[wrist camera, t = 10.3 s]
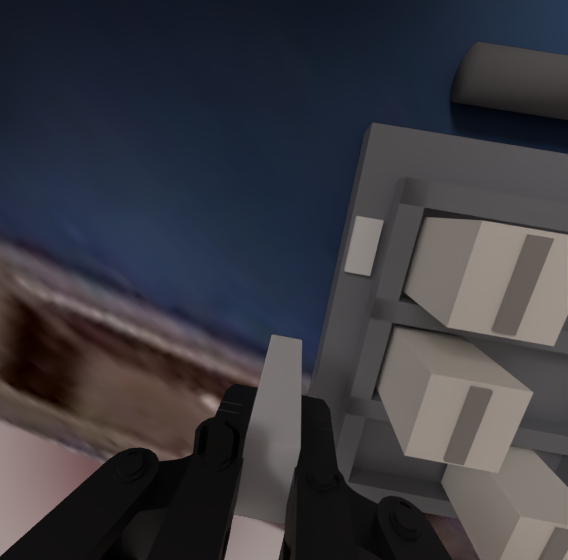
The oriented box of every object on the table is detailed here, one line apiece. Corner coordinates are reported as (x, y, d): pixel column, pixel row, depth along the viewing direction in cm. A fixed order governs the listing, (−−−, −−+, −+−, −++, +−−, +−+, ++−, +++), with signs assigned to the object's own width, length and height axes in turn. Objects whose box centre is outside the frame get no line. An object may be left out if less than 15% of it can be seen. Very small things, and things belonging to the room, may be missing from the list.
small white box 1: (402, 290, 16) (448, 328, 11) (423, 217, 15) (485, 220, 10) (475, 303, 16) (556, 348, 11) (501, 230, 15) (604, 240, 10)
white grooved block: (375, 385, 17) (405, 458, 12) (393, 324, 16) (433, 375, 11) (442, 398, 17) (500, 476, 12) (463, 337, 16) (536, 394, 11)
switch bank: (295, 451, 21) (294, 492, 18) (364, 132, 16) (378, 114, 13) (565, 503, 21) (611, 554, 18) (729, 192, 15) (836, 188, 12)
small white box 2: (440, 482, 18) (491, 583, 13) (460, 431, 17) (523, 519, 12) (503, 494, 18) (577, 601, 13) (526, 443, 17) (616, 537, 12)
